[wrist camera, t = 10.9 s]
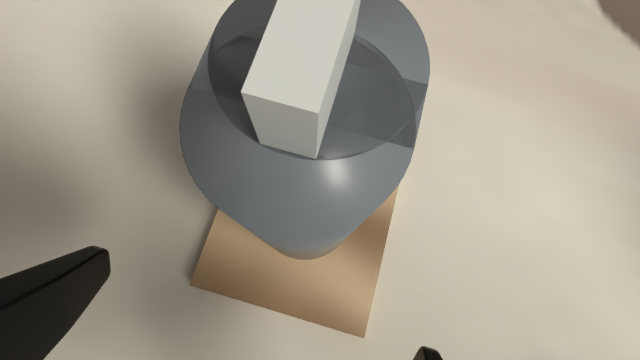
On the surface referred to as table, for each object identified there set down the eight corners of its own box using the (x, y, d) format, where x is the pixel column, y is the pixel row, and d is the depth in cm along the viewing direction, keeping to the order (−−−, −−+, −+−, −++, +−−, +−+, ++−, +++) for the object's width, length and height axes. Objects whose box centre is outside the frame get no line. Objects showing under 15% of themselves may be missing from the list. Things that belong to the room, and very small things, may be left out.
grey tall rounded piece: (338, 271, 17) (423, 265, 4) (245, 244, 17) (66, 161, 4) (368, 155, 19) (490, -90, 6) (284, 131, 19) (233, -151, 6)
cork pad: (361, 335, 16) (363, 338, 16) (193, 284, 17) (189, 284, 16) (409, 126, 20) (412, 122, 19) (267, 87, 20) (266, 82, 20)
